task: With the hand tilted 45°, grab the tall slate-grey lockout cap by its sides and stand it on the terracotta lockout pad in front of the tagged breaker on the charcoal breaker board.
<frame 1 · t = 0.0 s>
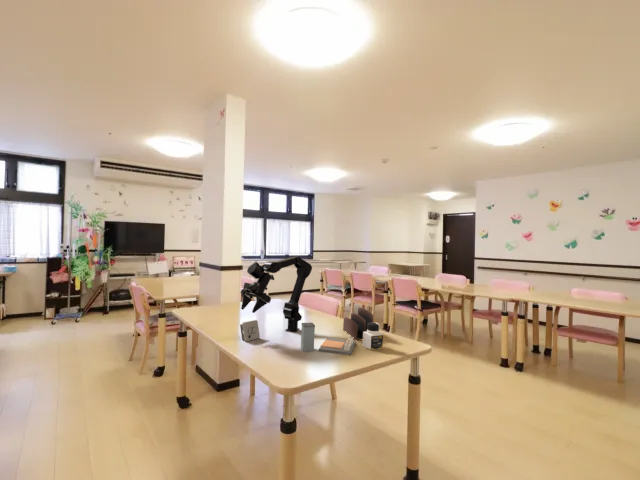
hand: (247, 310, 164), 15 cm above the table, tool tilted 35°, fingers open, 9 cm apart
electrical switch: (249, 339, 167), on the table
lockout cap: (307, 349, 155), on the table
letter holder: (357, 335, 184), on the table
breaker board: (338, 347, 160), on the table
medicine bottle: (372, 347, 162), on the table
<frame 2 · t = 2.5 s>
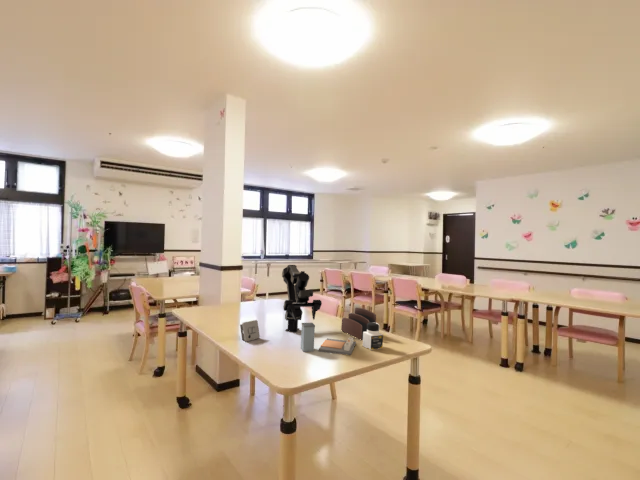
hand: (304, 319, 161), 13 cm above the table, tool tilted 45°, fingers open, 9 cm apart
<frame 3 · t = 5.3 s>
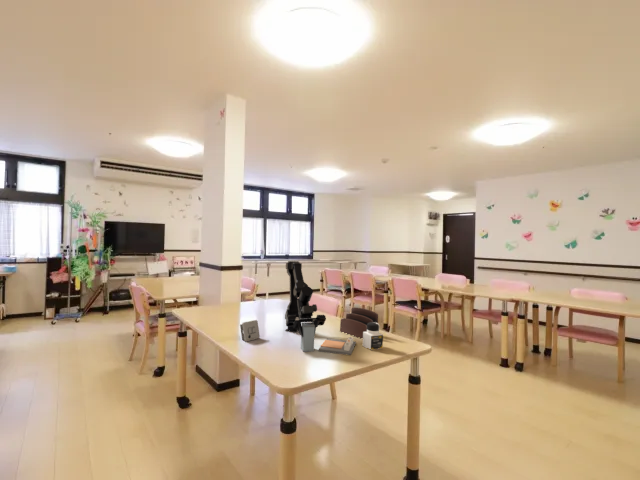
hand: (308, 336, 153), 7 cm above the table, tool tilted 45°, fingers closed on lockout cap, 5 cm apart
lockout cap: (307, 349, 155), on the table, touching gripper
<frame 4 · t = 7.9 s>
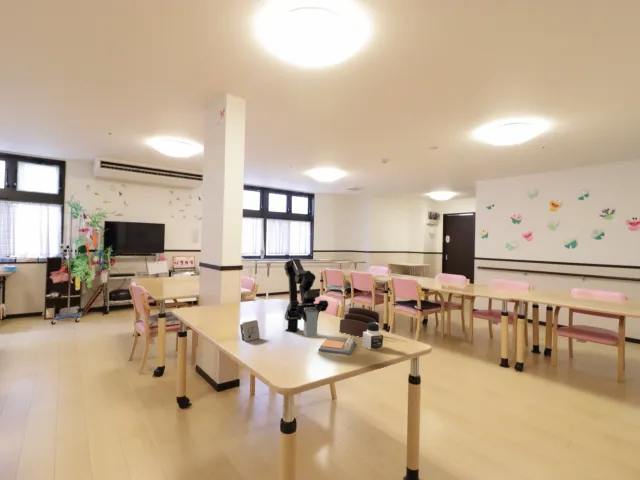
hand: (311, 321, 154), 13 cm above the table, tool tilted 45°, fingers closed on lockout cap, 5 cm apart
lockout cap: (310, 334, 155), point 7 cm above the table, touching gripper
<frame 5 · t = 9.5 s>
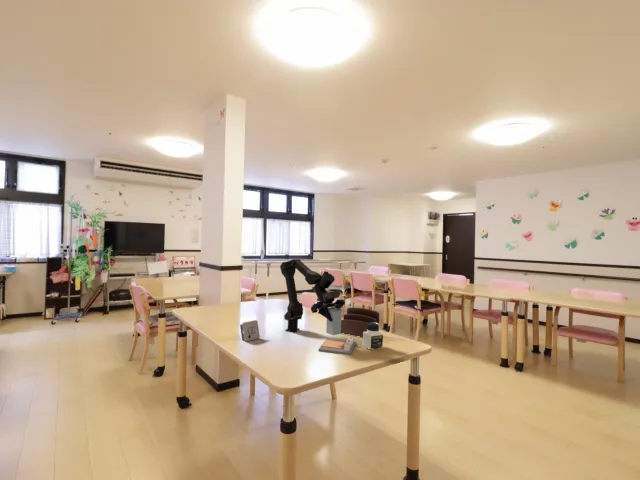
hand: (335, 320, 160), 13 cm above the table, tool tilted 45°, fingers closed on lockout cap, 5 cm apart
lockout cap: (333, 333, 161), point 6 cm above the table, touching gripper
when the fingers open (9 cm above the table, at t = 10.6 s): lockout cap drops 1 cm, resting on breaker board.
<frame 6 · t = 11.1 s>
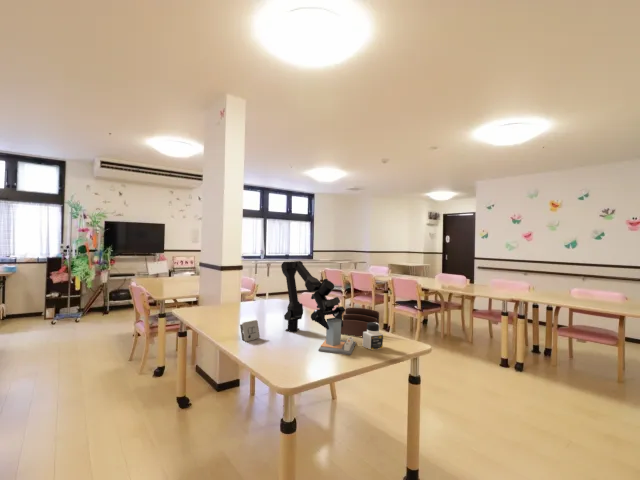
hand: (335, 328, 160), 9 cm above the table, tool tilted 45°, fingers open, 9 cm apart
lockout cap: (333, 343, 161), point 1 cm above the table, touching breaker board
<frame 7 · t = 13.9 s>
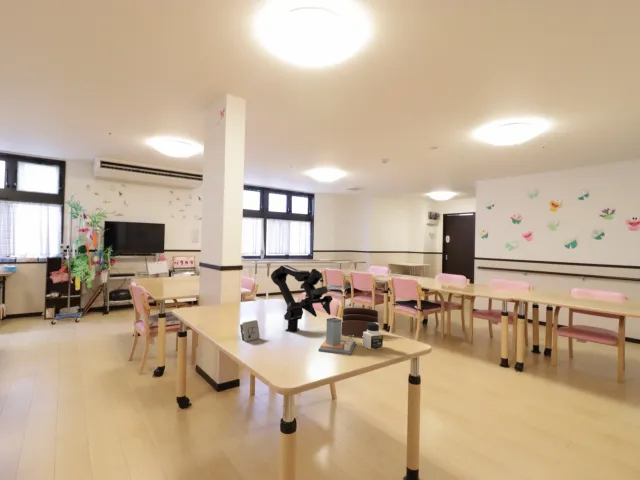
hand: (323, 315, 167), 14 cm above the table, tool tilted 45°, fingers open, 9 cm apart
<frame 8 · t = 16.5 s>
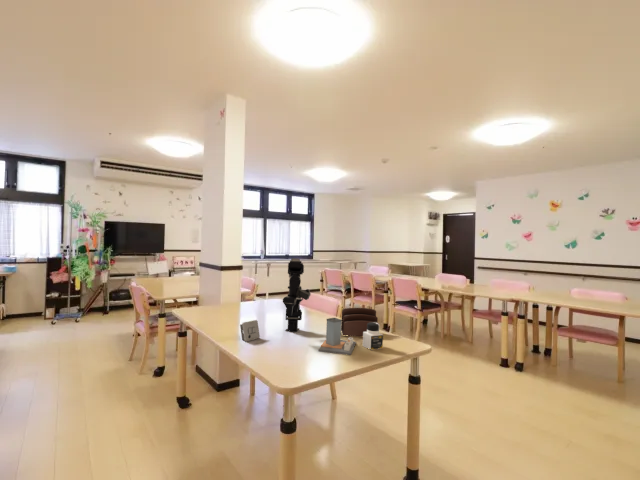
hand: (293, 314, 174), 12 cm above the table, tool pointing down, fingers open, 9 cm apart
at the end: lockout cap inside the target area on the breaker board (0.2 cm from its centre), point 1.3 cm above the breaker board's base; lockout cap tilted 0°; the gripper is holding nothing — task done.
